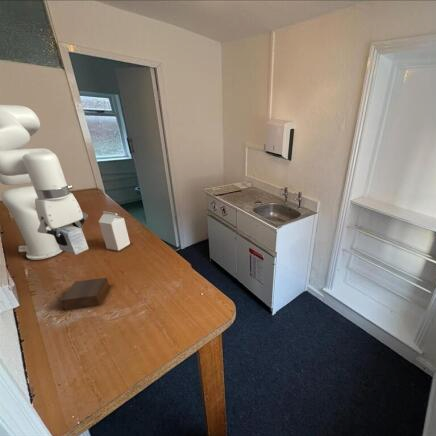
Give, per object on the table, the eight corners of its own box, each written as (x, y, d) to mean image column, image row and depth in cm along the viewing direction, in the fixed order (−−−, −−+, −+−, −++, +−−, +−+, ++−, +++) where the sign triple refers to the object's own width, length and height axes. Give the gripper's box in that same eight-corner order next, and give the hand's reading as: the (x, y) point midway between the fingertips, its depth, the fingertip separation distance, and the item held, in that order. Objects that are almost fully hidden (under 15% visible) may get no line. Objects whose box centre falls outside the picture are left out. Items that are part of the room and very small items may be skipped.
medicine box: (89, 249, 84) (82, 228, 81) (75, 255, 81) (67, 233, 77) (74, 244, 86) (66, 223, 83) (60, 250, 83) (51, 228, 79)
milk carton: (118, 251, 114) (108, 216, 106) (106, 248, 115) (95, 214, 107) (130, 244, 121) (122, 210, 113) (118, 241, 122) (109, 208, 114)
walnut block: (65, 310, 81) (60, 300, 79) (78, 290, 89) (75, 281, 88) (99, 305, 84) (96, 295, 82) (109, 286, 92) (106, 277, 91)
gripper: (74, 184, 83) (89, 229, 90) (9, 198, 68) (34, 250, 75) (89, 187, 81) (103, 233, 89) (27, 202, 66) (50, 256, 74)
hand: (71, 240), depth 82 cm, fingers closed on medicine box, 4 cm apart
